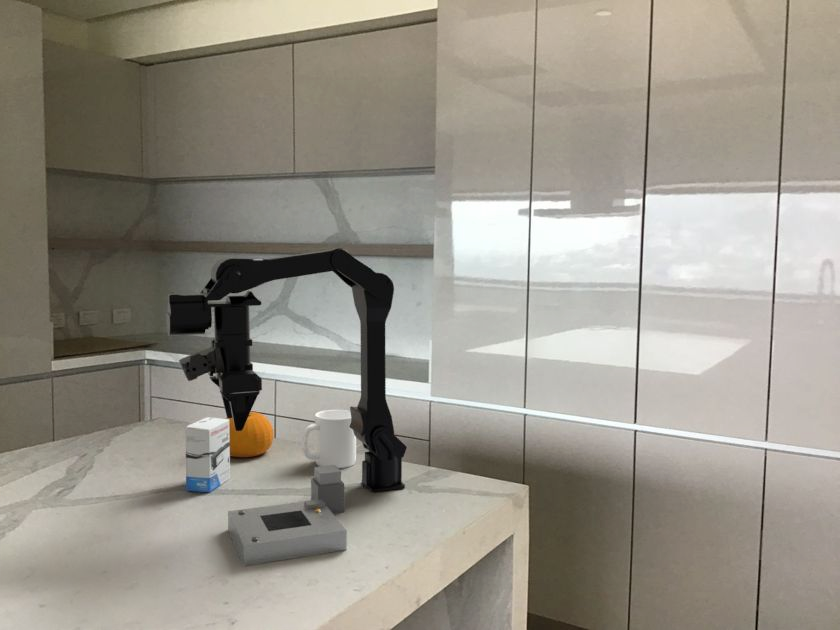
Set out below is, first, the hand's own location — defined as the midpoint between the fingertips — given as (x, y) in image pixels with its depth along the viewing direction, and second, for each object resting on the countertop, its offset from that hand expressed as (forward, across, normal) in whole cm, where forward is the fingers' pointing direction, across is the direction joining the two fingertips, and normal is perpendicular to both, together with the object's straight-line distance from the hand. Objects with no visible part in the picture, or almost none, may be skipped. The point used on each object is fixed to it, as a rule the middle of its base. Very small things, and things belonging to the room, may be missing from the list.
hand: (234, 424), depth 127 cm
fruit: (+15, -30, +7) cm, 35 cm away
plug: (+14, +7, +14) cm, 21 cm away
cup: (+15, -17, +21) cm, 30 cm away
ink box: (+14, -12, -3) cm, 19 cm away
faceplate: (+14, +18, +5) cm, 23 cm away
